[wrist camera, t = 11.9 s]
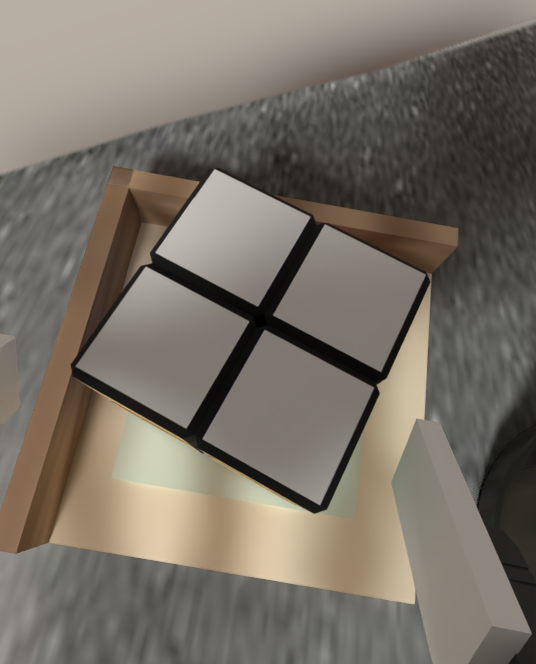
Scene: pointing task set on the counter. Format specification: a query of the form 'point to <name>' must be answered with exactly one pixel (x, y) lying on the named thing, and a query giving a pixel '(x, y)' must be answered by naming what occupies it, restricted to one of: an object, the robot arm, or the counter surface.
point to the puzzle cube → (256, 337)
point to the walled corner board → (199, 469)
